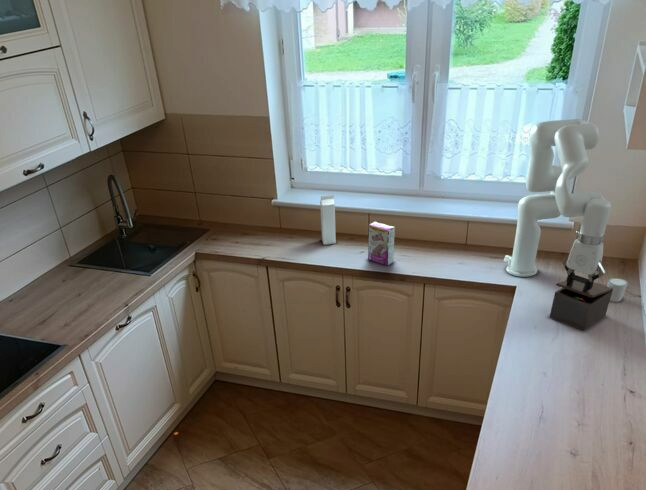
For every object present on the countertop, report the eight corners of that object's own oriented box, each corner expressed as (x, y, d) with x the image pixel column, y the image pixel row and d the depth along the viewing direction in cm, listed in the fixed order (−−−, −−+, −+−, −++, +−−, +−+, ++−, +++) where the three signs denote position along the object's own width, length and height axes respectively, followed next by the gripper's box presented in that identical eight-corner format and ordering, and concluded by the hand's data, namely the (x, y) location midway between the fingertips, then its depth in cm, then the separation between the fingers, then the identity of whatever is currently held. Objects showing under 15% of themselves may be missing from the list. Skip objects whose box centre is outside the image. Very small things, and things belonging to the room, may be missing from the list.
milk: (321, 240, 288) (319, 194, 275) (333, 238, 288) (332, 193, 275) (323, 244, 283) (321, 198, 270) (336, 243, 284) (334, 197, 270)
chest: (584, 330, 211) (591, 304, 205) (549, 317, 219) (555, 292, 213) (605, 316, 218) (612, 290, 212) (571, 303, 227) (577, 278, 220)
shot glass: (624, 302, 225) (629, 286, 221) (605, 301, 227) (610, 285, 222) (621, 294, 231) (626, 278, 226) (602, 293, 232) (606, 277, 228)
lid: (592, 297, 202) (597, 283, 200) (555, 285, 211) (560, 271, 208) (612, 290, 212) (617, 277, 209) (577, 278, 220) (581, 265, 218)
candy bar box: (367, 260, 267) (367, 224, 257) (374, 256, 270) (374, 221, 260) (387, 266, 261) (388, 230, 251) (394, 262, 264) (395, 226, 254)
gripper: (560, 234, 200) (550, 283, 211) (609, 248, 190) (596, 299, 201) (572, 228, 204) (561, 276, 215) (621, 241, 193) (607, 291, 204)
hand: (578, 286), depth 208 cm, fingers closed on lid, 6 cm apart
